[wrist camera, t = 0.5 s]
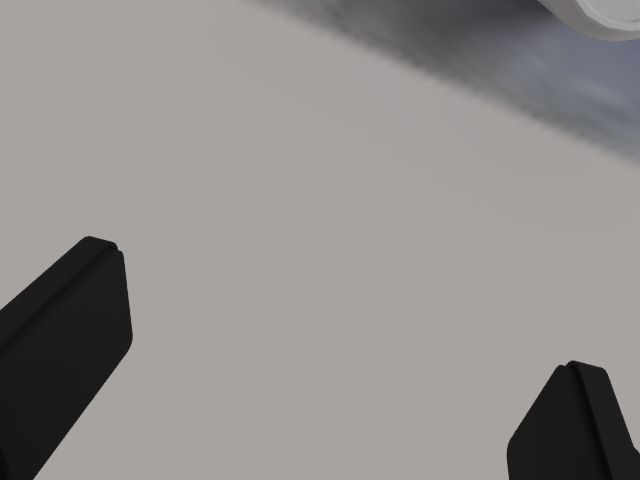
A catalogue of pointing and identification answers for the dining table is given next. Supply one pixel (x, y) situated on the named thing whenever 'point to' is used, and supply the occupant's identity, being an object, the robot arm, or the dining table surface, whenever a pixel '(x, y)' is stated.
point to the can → (599, 17)
